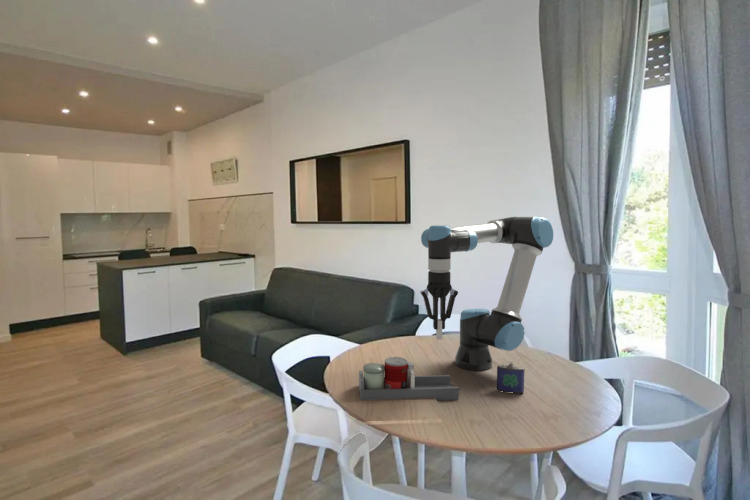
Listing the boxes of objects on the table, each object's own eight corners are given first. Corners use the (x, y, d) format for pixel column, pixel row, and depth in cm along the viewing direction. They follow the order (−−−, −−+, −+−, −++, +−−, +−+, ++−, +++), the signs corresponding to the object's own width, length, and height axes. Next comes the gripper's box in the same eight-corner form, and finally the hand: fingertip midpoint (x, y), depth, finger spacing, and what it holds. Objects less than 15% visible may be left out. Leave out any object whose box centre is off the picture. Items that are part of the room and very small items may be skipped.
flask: (523, 391, 151) (524, 362, 150) (524, 395, 148) (525, 365, 147) (496, 388, 153) (497, 359, 152) (496, 392, 150) (497, 362, 149)
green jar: (383, 387, 151) (383, 362, 150) (385, 396, 143) (385, 370, 143) (362, 388, 150) (362, 363, 149) (363, 397, 143) (363, 370, 142)
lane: (449, 385, 155) (449, 367, 155) (458, 399, 144) (458, 379, 143) (358, 388, 152) (358, 369, 152) (360, 402, 141) (360, 382, 140)
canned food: (406, 397, 143) (406, 365, 142) (382, 395, 144) (382, 363, 144) (408, 387, 151) (408, 357, 150) (386, 386, 152) (386, 356, 151)
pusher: (410, 384, 152) (411, 358, 152) (415, 395, 144) (416, 367, 143) (405, 385, 152) (405, 358, 151) (409, 395, 144) (410, 367, 143)
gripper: (454, 268, 150) (454, 334, 152) (418, 269, 148) (418, 335, 151) (461, 271, 142) (460, 340, 144) (422, 272, 141) (422, 342, 143)
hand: (439, 338), depth 148 cm, fingers closed
